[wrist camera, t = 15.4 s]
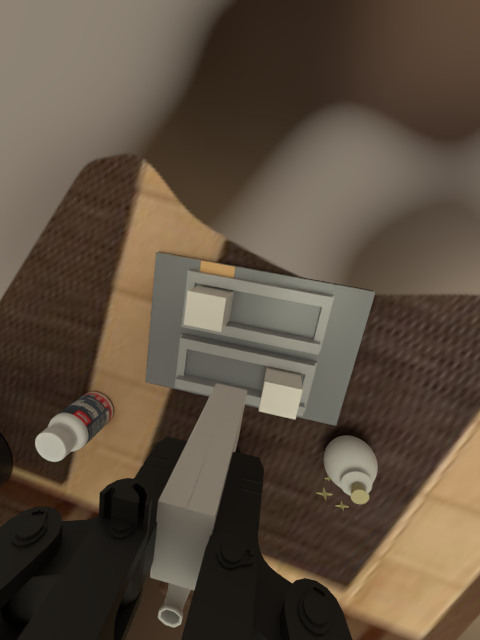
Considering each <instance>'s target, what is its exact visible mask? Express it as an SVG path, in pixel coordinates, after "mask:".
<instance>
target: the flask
mask: <svg viewBox="0 0 480 640" xmlns="http://www.w3.org/2000/svg"><path fill="white" fill-rule="evenodd" d="M190 590H191V589H188V588H184V587H181V586H178V585H174V584H171V583H169V587H168V592H167V596H166V599H165V602H164V605H163V606H162V607H161V608H160V610H159V614H158V618H159V620H161V621H162V622H163V623H164V624H165V625H168V626H171V627H176V626H178V625H180V624H181V622H182V617H183V612H182V611H183V607H184V604H185V602H186V599H187V597H188V595H189V593H190Z"/></svg>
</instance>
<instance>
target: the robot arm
mask: <svg viewBox="0 0 480 640" xmlns="http://www.w3.org/2000/svg"><path fill="white" fill-rule="evenodd" d="M246 395H247V390H245V389H240V388H236V387H231V386H227V385H222V384H218V383H216V385H215V387H214V389H213V391H212V393H211V395H210V397H209V399H208V401H207V403H206V405H205V407H204V409H203V411H202V413H201V415H200V417H199V419H198V421H197V423H196V425H195V427H194V429H193V431H192V433H191V435H190V437H189V439H188V441H184V440H180V439H176V438H172V437H168V436H167V437H166V438H164V439H163V440H161V441H160V442H159V443H157V444H156V445H155V447H154V448H153V450H152V452H151V453H150V455H149V457H148V458H147V459H146V461H145V462H144V465H143V466H142V467H141V469H140V470H139V472H138V473H137V475H136V476H135V478H134V479H131V478H126V479H121V480H117V481H115V482H113V483H111V484H109V485H107V486H106V487H105V488H104V489H103V490H102V491H101V492H100V503H99V517H96V518H94V519H88V520H77V521H62V519H61V515H60V514H59V512H58V511H57V510H56V509H53V508H50V507H35V508H32V509H29V510H26V511H23V512H22V513H20V514H18V515H17V516H15V517H13V518H12V519H10V520H9V521H8V522H6V523H5V524H4V525H2V526H1V527H0V640H126V637H127V635H128V632H129V630H130V627H131V625H132V622H133V619H134V617H135V614H136V612H137V609H138V607H139V605H140V602H141V597H142V593H143V585H144V582H145V580H146V577H147V575H148V573H149V570H150V568H151V573H150V577H151V578H154V579H158V580H161V581H164V582H167V583H171V584H174V585H178V586H181V587H184V588H188V589H191V590H194V594H193V597H192V601H191V605H190V609H189V613H188V617H187V621H186V624H185V628H184V632H183V635H182V639H181V640H352V637H351V634H350V631H349V629H348V626H347V623H346V620H345V617H344V614H343V611H342V609H341V607H340V605H339V603H338V601H337V599H336V598H335V597H334V596H333V594H332V593H331V592H330V591H329V590H328V589H327V588H326V587H325V586H323V585H322V584H320V583H319V582H317V581H315V580H310V579H306V578H305V579H300V580H296V581H295V582H294V583H293V584H292V583H291V582H289V581H288V580H286V579H285V578H283V577H282V576H281V575H279V574H278V573H276V572H275V571H274V570H273V569H272V568H270V566H269V565H268V564H267V563H266V561H265V560H264V558H263V556H262V554H261V552H260V549H259V545H258V529H259V518H260V508H261V497H262V486H263V485H262V484H263V475H264V469H263V466H262V463H261V461H260V458H258V457H254V456H250V455H245V454H241V453H237V452H235V451H236V446H237V442H238V438H239V432H240V427H241V422H242V416H243V411H244V406H245V401H246ZM11 470H12V459H11V455H10V452H9V449H8V447H7V445H6V443H5V441H4V439H3V438H2V437H1V435H0V486H2V485H3V484H4V483H5V482H6V481H7V480H8V478H9V476H10V474H11Z"/></svg>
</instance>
